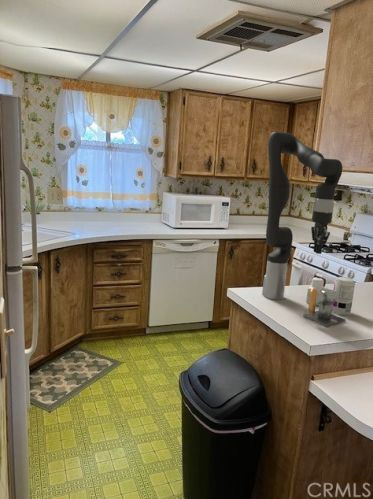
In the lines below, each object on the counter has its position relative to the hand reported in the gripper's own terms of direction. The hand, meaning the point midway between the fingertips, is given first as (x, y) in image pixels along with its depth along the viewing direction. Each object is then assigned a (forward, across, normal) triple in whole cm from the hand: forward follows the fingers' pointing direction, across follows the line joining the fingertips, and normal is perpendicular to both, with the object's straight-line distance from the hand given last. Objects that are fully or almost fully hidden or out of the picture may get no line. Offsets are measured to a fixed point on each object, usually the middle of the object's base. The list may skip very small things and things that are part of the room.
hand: (317, 252), depth 165 cm
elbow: (+22, +6, +2) cm, 23 cm away
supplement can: (+27, -4, +16) cm, 32 cm away
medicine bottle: (+27, -16, +9) cm, 33 cm away
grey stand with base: (+27, +4, +5) cm, 28 cm away
